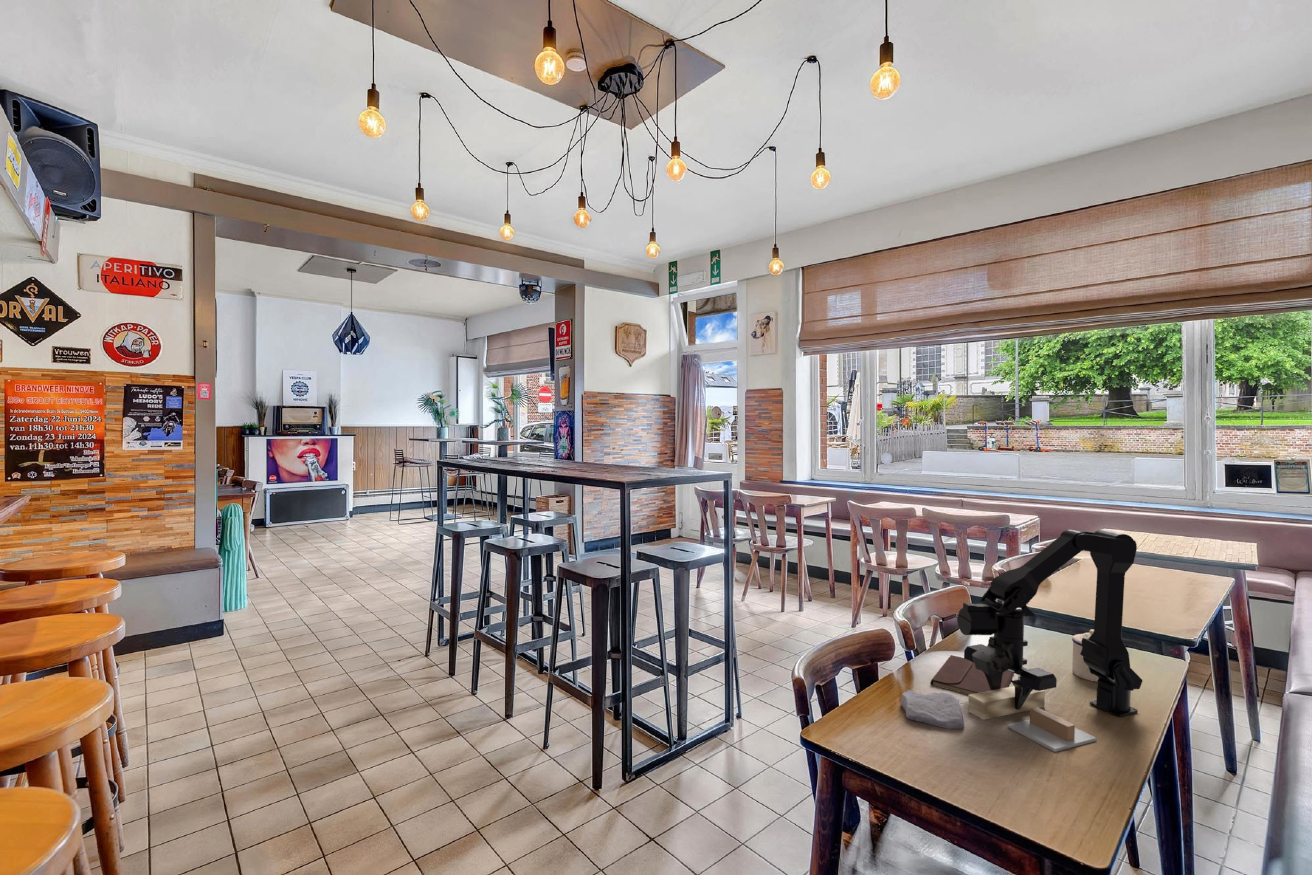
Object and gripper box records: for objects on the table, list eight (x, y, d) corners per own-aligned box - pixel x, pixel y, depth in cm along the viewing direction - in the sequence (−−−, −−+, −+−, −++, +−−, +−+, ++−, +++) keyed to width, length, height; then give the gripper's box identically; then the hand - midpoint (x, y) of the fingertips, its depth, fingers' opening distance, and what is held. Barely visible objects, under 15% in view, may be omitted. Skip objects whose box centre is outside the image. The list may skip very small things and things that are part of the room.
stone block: (968, 739, 124) (957, 708, 134) (968, 719, 123) (958, 689, 133) (906, 733, 127) (900, 703, 137) (906, 713, 126) (900, 684, 136)
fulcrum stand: (1048, 717, 130) (1048, 701, 130) (1096, 740, 121) (1096, 722, 121) (1008, 727, 126) (1008, 710, 126) (1054, 751, 116) (1055, 733, 116)
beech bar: (1028, 700, 139) (1028, 683, 139) (1044, 708, 135) (1044, 690, 135) (968, 712, 133) (968, 694, 133) (983, 720, 129) (983, 702, 129)
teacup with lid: (1113, 687, 146) (1115, 639, 145) (1068, 676, 152) (1069, 630, 151) (1118, 672, 155) (1119, 627, 154) (1075, 662, 161) (1076, 619, 160)
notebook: (1013, 676, 152) (1014, 668, 152) (1000, 705, 137) (1000, 696, 137) (949, 661, 162) (949, 654, 162) (930, 686, 146) (930, 678, 146)
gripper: (946, 624, 139) (945, 691, 140) (1021, 654, 122) (1018, 730, 122) (982, 619, 143) (980, 684, 144) (1059, 647, 126) (1057, 721, 126)
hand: (1006, 703), depth 134 cm, fingers open, 5 cm apart
